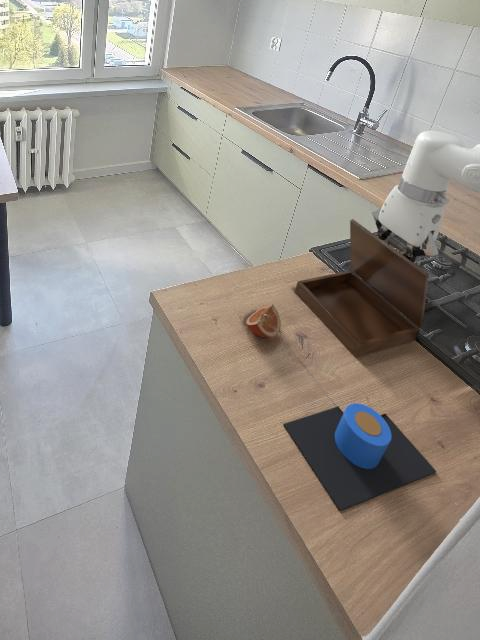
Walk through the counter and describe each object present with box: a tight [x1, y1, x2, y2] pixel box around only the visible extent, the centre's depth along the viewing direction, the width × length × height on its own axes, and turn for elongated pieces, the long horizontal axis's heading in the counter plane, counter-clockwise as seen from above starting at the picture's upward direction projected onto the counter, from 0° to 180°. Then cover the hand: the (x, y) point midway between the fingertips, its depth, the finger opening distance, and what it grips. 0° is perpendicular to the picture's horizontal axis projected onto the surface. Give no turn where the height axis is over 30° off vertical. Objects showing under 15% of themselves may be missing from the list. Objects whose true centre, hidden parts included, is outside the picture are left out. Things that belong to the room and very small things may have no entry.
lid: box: [349, 218, 430, 329], centre depth 95 cm, size 17×19×5 cm
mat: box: [283, 406, 438, 512], centre depth 72 cm, size 20×13×1 cm, turn 106°
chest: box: [294, 269, 421, 359], centre depth 97 cm, size 17×19×4 cm
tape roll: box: [335, 402, 392, 469], centre depth 71 cm, size 7×7×6 cm
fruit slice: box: [245, 303, 282, 339], centre depth 93 cm, size 8×7×5 cm
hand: (391, 258), depth 93 cm, fingers closed on lid, 5 cm apart
